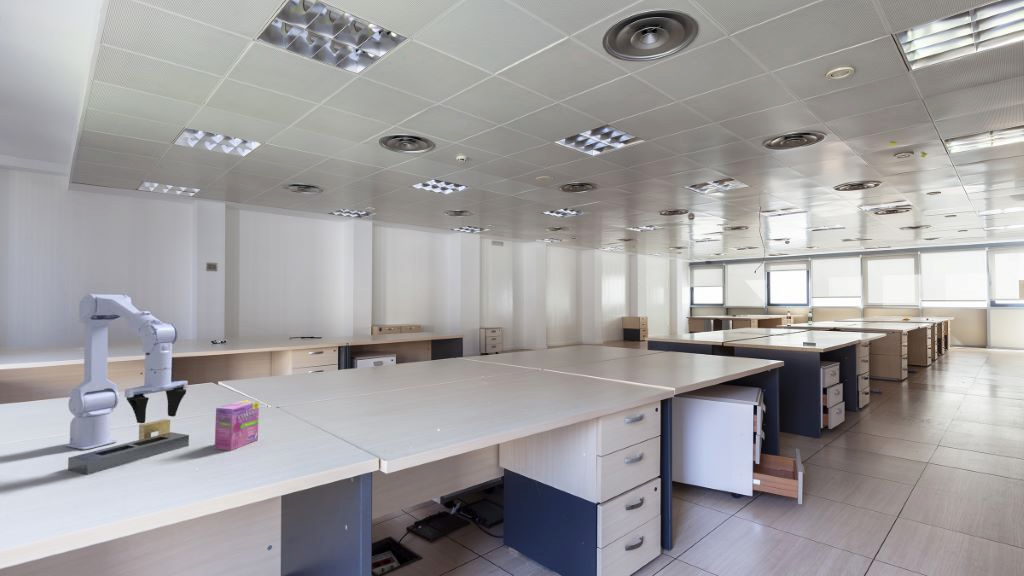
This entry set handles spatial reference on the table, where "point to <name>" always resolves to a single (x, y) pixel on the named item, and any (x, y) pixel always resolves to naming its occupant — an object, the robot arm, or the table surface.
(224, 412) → the box
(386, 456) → the table surface
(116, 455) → the block
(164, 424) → the clip
